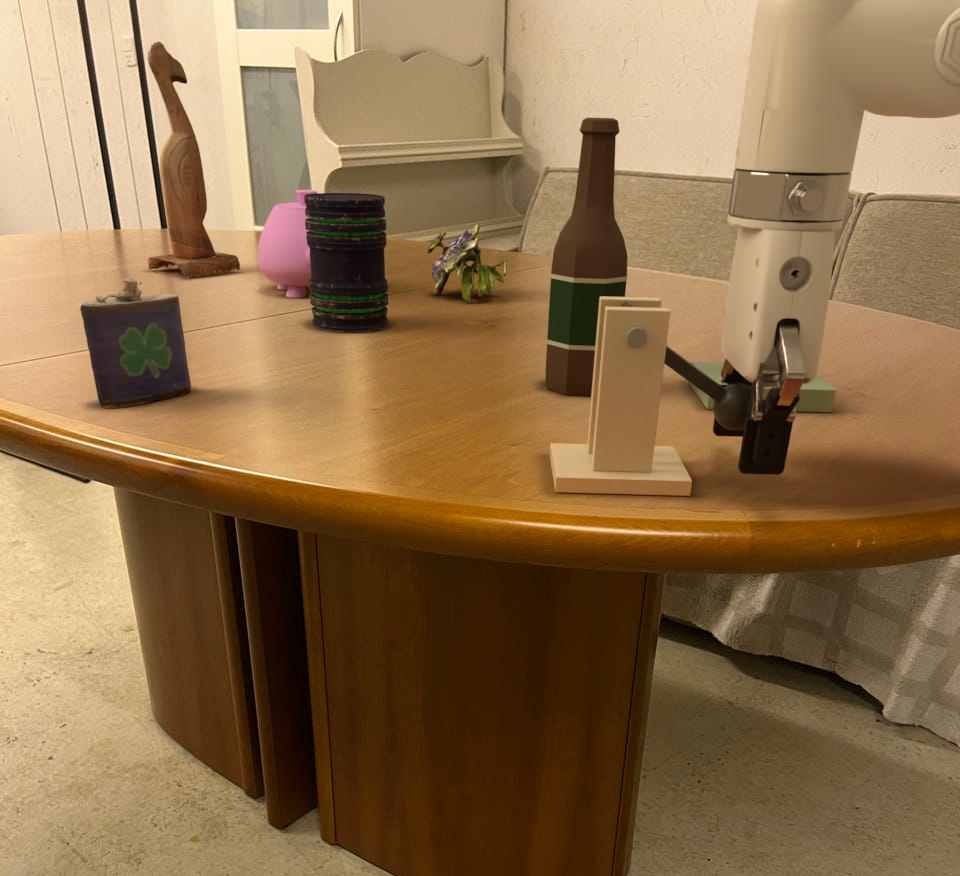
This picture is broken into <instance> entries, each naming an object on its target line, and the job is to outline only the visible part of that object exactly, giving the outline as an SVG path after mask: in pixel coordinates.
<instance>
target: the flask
mask: <svg viewBox="0 0 960 876" xmlns="http://www.w3.org/2000/svg"><path fill="white" fill-rule="evenodd" d="M123 282H124V287H123V288H122V290H121V291H119V292H117V294H107V296H103V297H102V296H100V295H99V294H98V295H96V296H95V300H94V299H93V300H89V301H87V302H83V303H82V304H81V305H80V306H79V310H80V313H81V317H82V321H83V322H82V323H83V329H84V334H85V337H86V343H87V348H88V352H89V359H90V365H91V366H90V367H91V369H92V374H93V378H94V379H93V381H94V384H95V390H96V394H97V395H96V396H97V400H98V402H99V405H98V406H99V407H101V408H103V409H105V408H106V409H110V408H113V409H117V408H123V407H129V406H135V405H140V404H141V405H143V404H148V403H150V402H154V401H155V400H165V399H169V398H170V399H171V398H174V397H177V396H183V395H185V394H186V393H191V389H192V382H191V377H190V370H189V365H188V358H187V357H188V356H187V351H186V350H187V349H186V341H185V333H184V328H183V323H182V314H181V305H180V298H179V296H178V294H174V293H158V294H157V293H156V294H151V295H143V296H141V295H142V293H143V290H141V289H139V285H142V283H143V282H142V281H139V282H138V281H137V280H136V279H134V278H124V279H123ZM109 298H113V299H109Z"/></svg>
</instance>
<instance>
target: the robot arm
mask: <svg viewBox="0 0 960 876" xmlns="http://www.w3.org/2000/svg"><path fill="white" fill-rule="evenodd" d="M748 59H749V60H748V66H747V73H746V74H747V75H746V83H745V89H744V96H743V103H742V109H741V110H742V111H741V118H740V123H739V132H738V139H737V146H736V153H735V161H734V170H733V175H732V182H731V190H730V197H729V205H728V212H727V217H726V224H728V225H731V226H734V227H735V226H738V232H737V237H736V242H735V245H734V248H733V251H734V252H733V258H732V262H731V269H730V274H729V279H728V285H727V291H726V298H725V303H724V311H723V319H722V326H721V337H720V350H721V353H722V355H723V357H724V358H725V359H724V365H723V368H722V371H721V383H722V384H727V385H721V386H722V387H723V388H725V387H726V386H728V385H731V384H735V383H742V384H746V385H748V386H750V387H751V416H752V417H746V420H745V426H744V429H741V430H730V429H727V428H725V427H723V426H721V425H720V424H719V423H718V421H717V420H716V418H715V416H714V417H713V425H712V433H713V434H714V435H715V436H716V437H735V438H736V437H737V438H738V437H742V440H741V445H740V451H739V456H738V457H739V458H738V464H737V469H738V471H739V472H740V474H742V475H763V476H765V475H766V476H767V475H771V476H779V475H781V474H782V473H784V471H785V466H786V461H787V456H788V451H789V447H790V446H789V445H790V440H791V435H792V429H793V424H794V421H795V420H796V415H797V412H796V404H797V402H799V399H800V396H799V391H800V388H801V386H802V384H803V383H806V384H808V383H810V382H811V381H813V380H814V378H815V377H816V375H818V371H819V365H820V359H821V354H822V346H823V340H824V333H825V328H826V321H827V313H828V306H829V300H830V293H831V284H832V274H833V263H834V250H835V249H834V247H835V231H837V230H841V229H842V227H843V222H844V216H845V212H846V211H845V210H846V205H847V200H848V196H849V190H850V185H851V180H852V175H853V174H852V173H853V169H854V165H855V161H856V154H857V149H858V144H859V139H860V136H861V135H860V134H861V129H862V125H863V119H864V114H865V111H866V112H867V113H870V114H873V115H877V116H883V117H897V118H899V117H900V118H902V117H903V118H905V117H907V118H915V119H943V118H949V117H953V116H954V117H955V116H957V115H960V0H758V3H757V6H756V11H755V17H754V22H753V30H752V38H751V44H750V52H749V58H748ZM762 370H771V371H779V374H768V373H762ZM764 387H775V388H771V389H770V391H769V392H768V395H767V396H766V398H765V400H764Z"/></svg>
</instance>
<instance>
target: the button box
mask: <svg viewBox="0 0 960 876" xmlns="http://www.w3.org/2000/svg"><path fill="white" fill-rule="evenodd" d="M724 362H725V361H724ZM724 362H723V361H721V362H720V361H719V362H718V361H690V363H691V364H692V365H694V366H695V367H696V368H698V369H699V370H700V371H702V372H703V373H704V374H706V375H707V376H709V377H710V378H711V379H713V380H714V381H715V382H717V383H718V384H719V385H727V384H722V383H721V371H722V368H723V365H724ZM762 373H768V374H779V371H771V370H762ZM687 383H688V385H689V386H690V387H691V389H692V390H693V392H694V393H695V394H696V396H697V397H698V399H699V400H700V401H701V403H702V404H703V406H704V407H705V409H706V410H713V405H714V401H715V400H714V399H712V398H711V397H709V396H708V395H707V394H705V393H704V392H703V391H701V390H700V389H699V388H697V387H696V386H694V385H693V384H692V383H690V382H689V381H688V380H687ZM771 388H775V387H764V400H765V398H766V396H767V395H768V392H769V391H770V389H771ZM836 393H837V389H836V388H834V386H832V385H831V384H830V383H829V382H827V381H826V380H825V379H824V378H822V377H821V376H820V375H819V374H817V375H816V377H815V378H814V380H813V381H811V382H810V383H808V384H806V383H803V384H802V386H801V388H800V391H799V396H800V399H799V402H797V404H796V413H797V412H798V413H800V412H801V413H832V412H833V408H834V404H835V403H834V402H835V398H836Z"/></svg>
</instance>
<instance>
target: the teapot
mask: <svg viewBox="0 0 960 876" xmlns="http://www.w3.org/2000/svg"><path fill="white" fill-rule="evenodd" d="M294 193H295V196H296V198H297V200H298V201H297V202H281V203H277V204H275V205H274V206H273V208H272V210H271V212H270V214H269V215H268V217H267V219H266V221H265V224H264V226H263V228H262V231H261V233H260V237H259V240H258V246H257V257H256V258H257V259H256V261H257V266H258V268H259V270H260V271H261V272H262V273H263V275H264V276H265V277H266V278H267V279H268V281H270V282H271V283H275V284H278V285H277V286H276V287H277V288H276V289H278V290H283V291H284V290H285V291H286V293H285V297H287V298H303V297H305V296H306V287H309V285H310V284H309V281H310V279H311V263H310V248H309V246H308V245H307V240H306V238H307V236H306V232H308V231H309V230H306V229H305V227H306V226H305V219H307V218H309V217H306V215H305V209H306V204H305V200H304V196H305V195H308V194H318V191H317V190H314V189H297V190H295V192H294Z"/></svg>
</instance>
